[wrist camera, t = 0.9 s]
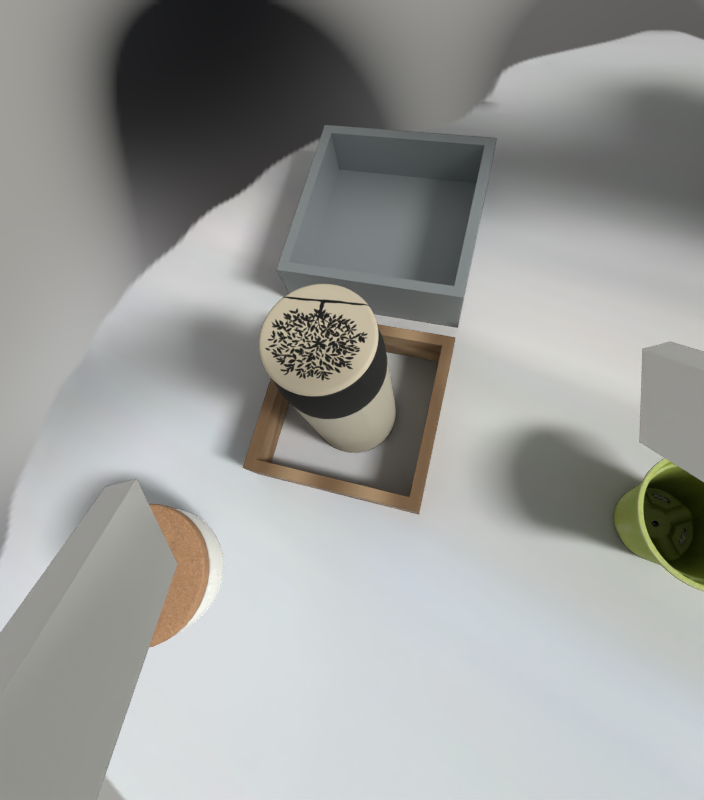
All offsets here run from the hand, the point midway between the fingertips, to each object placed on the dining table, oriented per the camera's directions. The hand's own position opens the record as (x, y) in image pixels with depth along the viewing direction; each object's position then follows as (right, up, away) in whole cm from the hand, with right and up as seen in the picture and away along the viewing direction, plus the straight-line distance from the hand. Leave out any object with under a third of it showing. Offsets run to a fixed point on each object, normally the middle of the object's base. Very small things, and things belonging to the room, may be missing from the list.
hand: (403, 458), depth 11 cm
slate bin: (+3, +19, +38) cm, 42 cm away
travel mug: (-1, 0, +33) cm, 33 cm away
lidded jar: (-17, -14, +31) cm, 38 cm away
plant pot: (+24, -9, +26) cm, 37 cm away
